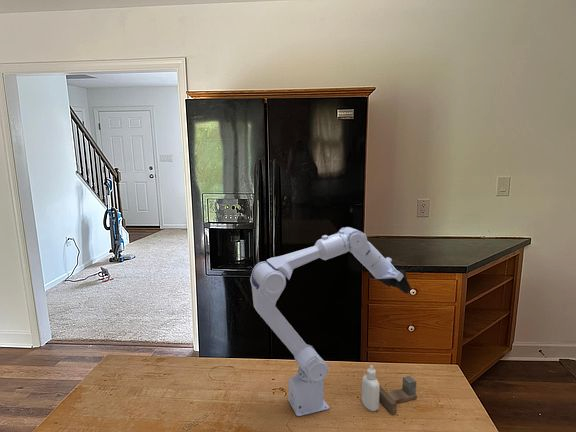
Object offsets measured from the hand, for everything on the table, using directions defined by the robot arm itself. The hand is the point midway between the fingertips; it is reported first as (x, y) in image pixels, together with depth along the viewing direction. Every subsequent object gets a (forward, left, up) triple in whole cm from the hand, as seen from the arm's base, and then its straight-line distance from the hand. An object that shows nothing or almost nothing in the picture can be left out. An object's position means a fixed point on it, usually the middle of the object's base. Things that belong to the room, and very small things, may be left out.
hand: (399, 287), depth 113 cm
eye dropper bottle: (-13, -7, -31) cm, 34 cm away
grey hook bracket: (-4, -7, -31) cm, 32 cm away
